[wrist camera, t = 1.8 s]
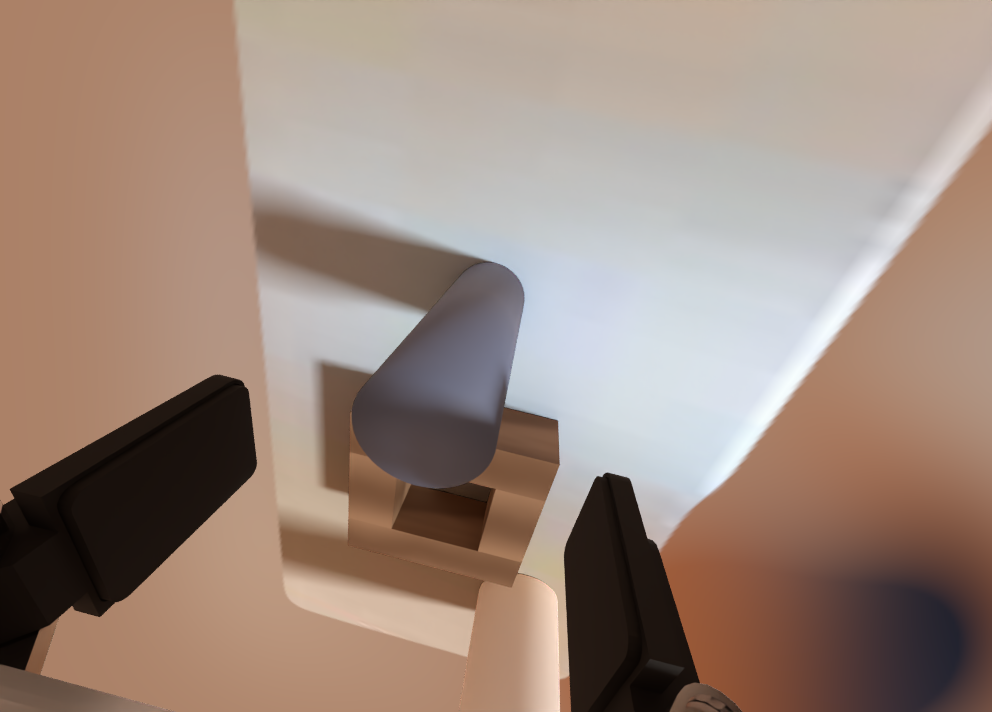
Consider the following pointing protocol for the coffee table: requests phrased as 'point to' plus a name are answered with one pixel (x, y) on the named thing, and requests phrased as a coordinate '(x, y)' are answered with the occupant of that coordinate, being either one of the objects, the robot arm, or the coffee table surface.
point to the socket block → (459, 506)
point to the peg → (445, 384)
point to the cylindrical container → (513, 650)
